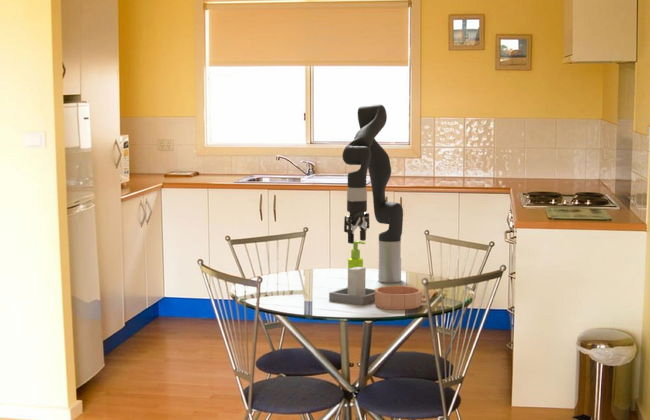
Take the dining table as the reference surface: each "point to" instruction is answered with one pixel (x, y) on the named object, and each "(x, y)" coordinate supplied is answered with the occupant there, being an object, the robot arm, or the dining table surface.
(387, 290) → the bowl
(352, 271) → the skincare box
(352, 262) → the soap dispenser
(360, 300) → the parts tray
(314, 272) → the dining table surface
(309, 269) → the dining table surface
